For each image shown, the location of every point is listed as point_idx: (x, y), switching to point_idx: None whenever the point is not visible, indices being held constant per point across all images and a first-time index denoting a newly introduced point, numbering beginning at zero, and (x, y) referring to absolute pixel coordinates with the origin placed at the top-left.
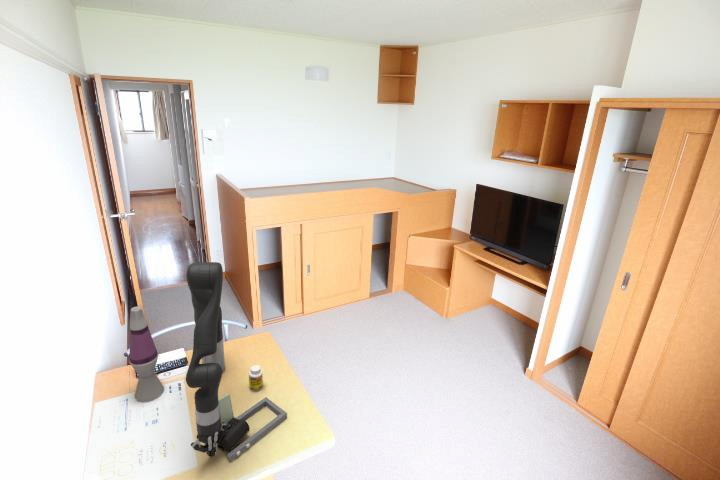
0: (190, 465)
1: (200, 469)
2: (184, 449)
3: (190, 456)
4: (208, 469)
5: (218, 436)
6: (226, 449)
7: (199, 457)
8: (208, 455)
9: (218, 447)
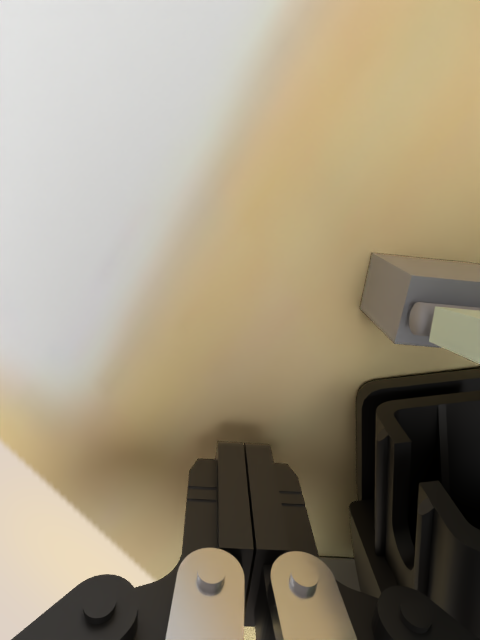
0: (26, 346)
1: (78, 459)
2: (90, 63)
3: (88, 242)
4: (132, 510)
5: (452, 594)
6: (364, 580)
7: (153, 340)
8: (185, 514)
9: (358, 413)
